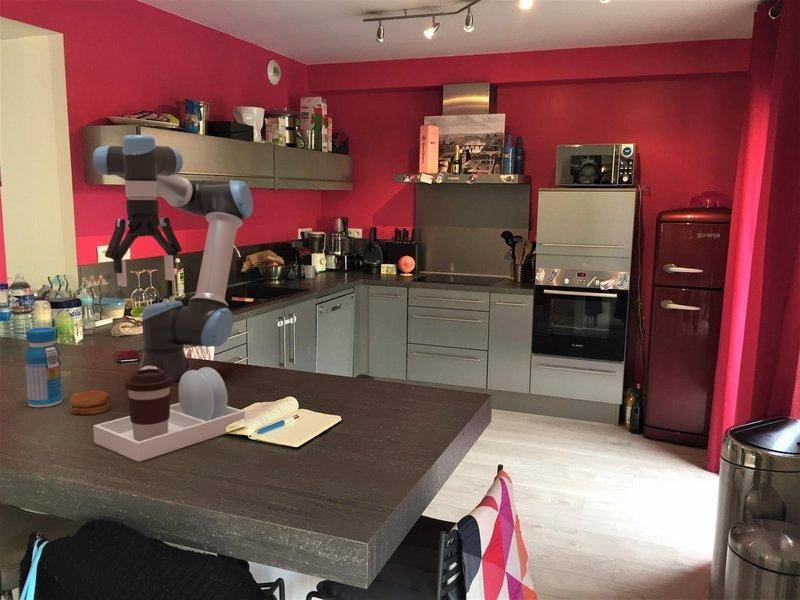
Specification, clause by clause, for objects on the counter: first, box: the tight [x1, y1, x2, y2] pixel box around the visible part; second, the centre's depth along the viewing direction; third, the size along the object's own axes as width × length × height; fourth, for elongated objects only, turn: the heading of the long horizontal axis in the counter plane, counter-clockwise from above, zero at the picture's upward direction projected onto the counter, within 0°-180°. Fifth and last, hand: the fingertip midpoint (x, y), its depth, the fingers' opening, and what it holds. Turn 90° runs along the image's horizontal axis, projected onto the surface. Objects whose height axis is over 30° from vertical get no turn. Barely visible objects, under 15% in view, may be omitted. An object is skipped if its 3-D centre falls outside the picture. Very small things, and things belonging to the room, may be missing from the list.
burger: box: [69, 389, 111, 416], centre depth 169 cm, size 10×9×5 cm
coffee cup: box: [124, 369, 173, 441], centre depth 147 cm, size 10×10×15 cm
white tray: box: [93, 402, 246, 463], centre depth 152 cm, size 28×18×4 cm, turn 143°
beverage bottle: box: [23, 326, 63, 408], centre depth 173 cm, size 8×8×20 cm
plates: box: [177, 366, 228, 421], centre depth 158 cm, size 4×13×13 cm, turn 53°
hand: (146, 283), depth 167 cm, fingers open, 13 cm apart
